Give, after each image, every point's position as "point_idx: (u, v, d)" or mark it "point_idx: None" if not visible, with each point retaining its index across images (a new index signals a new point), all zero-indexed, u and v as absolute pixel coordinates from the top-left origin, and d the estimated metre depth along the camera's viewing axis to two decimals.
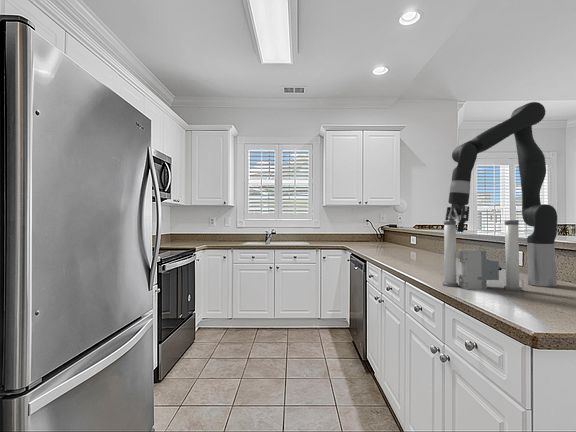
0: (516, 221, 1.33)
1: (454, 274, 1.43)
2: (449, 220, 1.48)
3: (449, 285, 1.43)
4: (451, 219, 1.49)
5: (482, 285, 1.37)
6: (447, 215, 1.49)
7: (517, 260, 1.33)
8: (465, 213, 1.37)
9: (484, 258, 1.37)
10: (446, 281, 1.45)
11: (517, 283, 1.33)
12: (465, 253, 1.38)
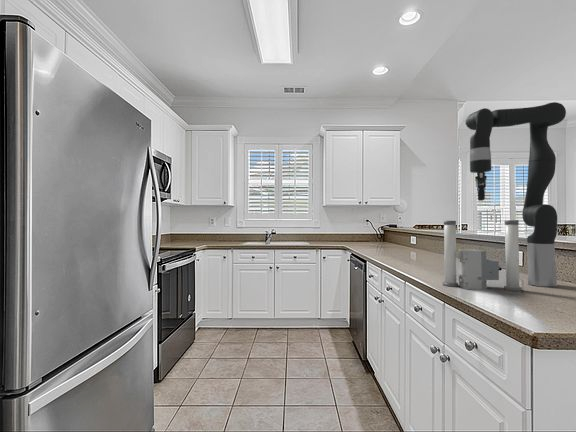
0: (516, 221, 1.33)
1: (454, 274, 1.43)
2: (478, 189, 1.44)
3: (449, 285, 1.43)
4: None
5: (482, 285, 1.37)
6: None
7: (517, 260, 1.33)
8: (481, 180, 1.34)
9: (484, 258, 1.37)
10: (446, 281, 1.45)
11: (517, 283, 1.33)
12: (465, 253, 1.38)
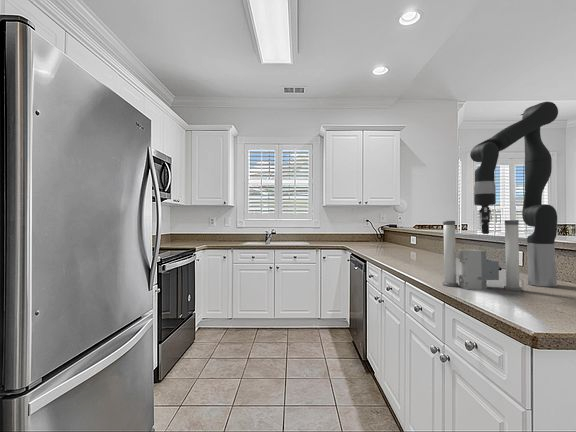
0: (516, 221, 1.33)
1: (454, 274, 1.43)
2: (482, 222, 1.44)
3: (449, 285, 1.43)
4: None
5: (482, 285, 1.37)
6: None
7: (517, 260, 1.33)
8: (485, 214, 1.34)
9: (484, 258, 1.37)
10: (446, 281, 1.45)
11: (517, 283, 1.33)
12: (465, 253, 1.38)
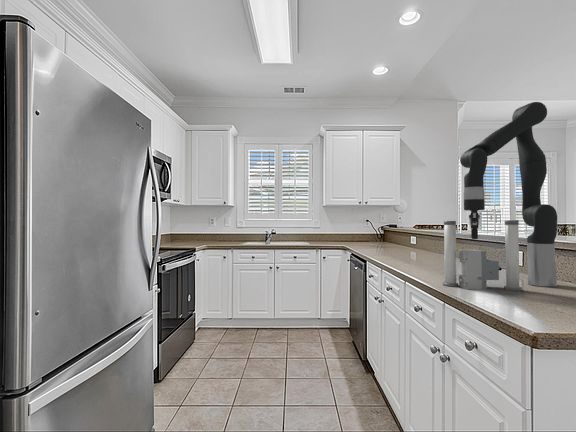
0: (516, 221, 1.33)
1: (454, 274, 1.43)
2: None
3: (449, 285, 1.43)
4: None
5: (482, 285, 1.37)
6: None
7: (517, 260, 1.33)
8: (474, 220, 1.35)
9: (484, 258, 1.37)
10: (446, 281, 1.45)
11: (517, 283, 1.33)
12: (465, 253, 1.38)
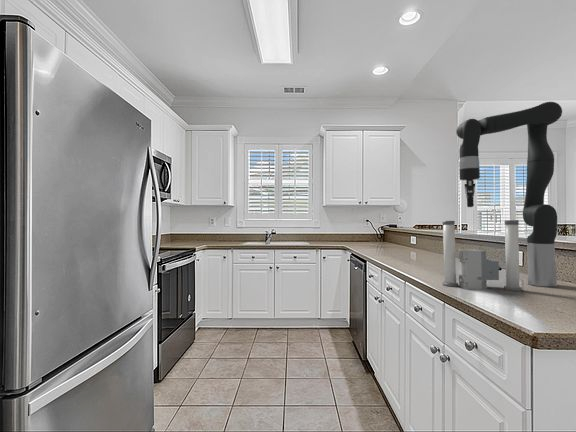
0: (516, 221, 1.33)
1: (454, 274, 1.44)
2: (467, 196, 1.50)
3: (449, 285, 1.43)
4: None
5: (482, 285, 1.37)
6: None
7: (517, 260, 1.33)
8: (469, 187, 1.40)
9: (484, 258, 1.37)
10: (446, 281, 1.45)
11: (517, 283, 1.33)
12: (465, 253, 1.38)
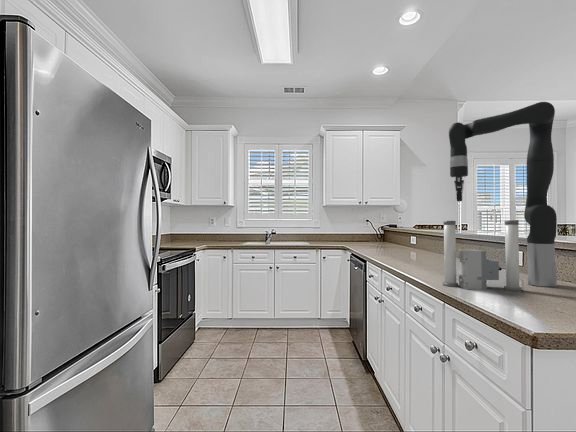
0: (516, 221, 1.33)
1: (454, 274, 1.43)
2: (457, 191, 1.67)
3: (449, 285, 1.43)
4: None
5: (482, 285, 1.37)
6: None
7: (517, 260, 1.33)
8: (458, 183, 1.57)
9: (484, 258, 1.37)
10: (446, 281, 1.45)
11: (517, 283, 1.33)
12: (465, 253, 1.38)
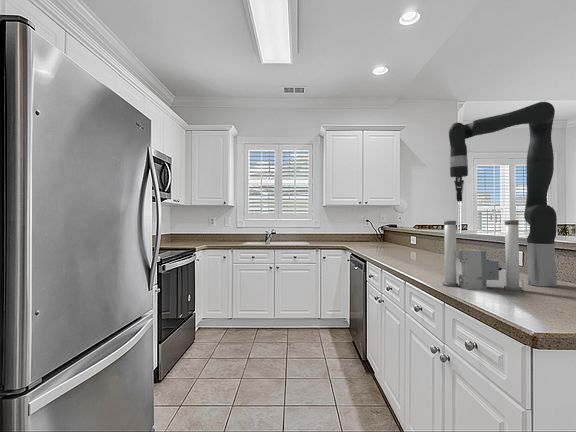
0: (516, 221, 1.33)
1: (454, 274, 1.44)
2: (457, 191, 1.67)
3: (449, 285, 1.43)
4: None
5: (482, 285, 1.37)
6: None
7: (517, 260, 1.33)
8: (458, 183, 1.57)
9: (484, 258, 1.37)
10: (446, 281, 1.45)
11: (517, 283, 1.33)
12: (465, 253, 1.38)
